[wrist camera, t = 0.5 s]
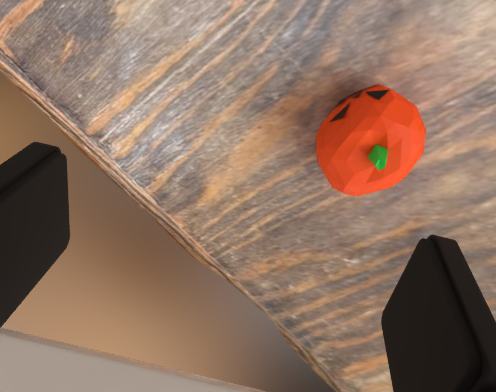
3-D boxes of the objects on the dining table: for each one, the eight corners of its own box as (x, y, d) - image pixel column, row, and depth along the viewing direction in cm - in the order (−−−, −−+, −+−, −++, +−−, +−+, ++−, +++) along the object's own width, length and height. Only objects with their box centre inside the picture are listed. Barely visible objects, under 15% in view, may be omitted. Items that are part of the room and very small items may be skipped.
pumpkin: (297, 149, 34) (294, 190, 28) (357, 60, 30) (366, 87, 24) (373, 191, 35) (383, 238, 29) (440, 110, 30) (467, 147, 25)
